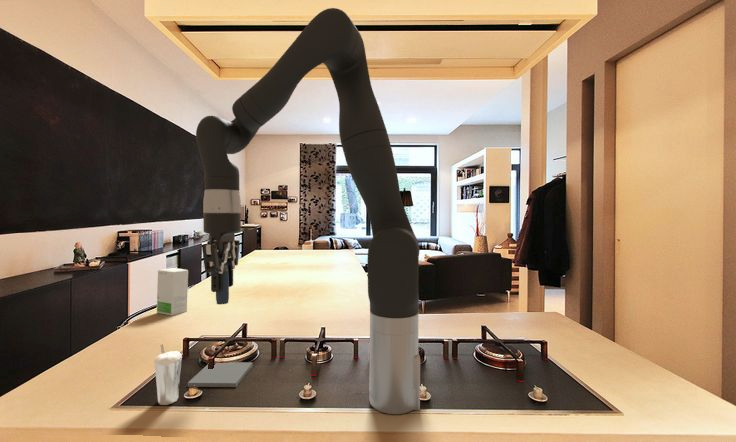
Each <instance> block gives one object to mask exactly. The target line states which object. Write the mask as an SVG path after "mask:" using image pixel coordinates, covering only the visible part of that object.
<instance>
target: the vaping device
mask: <svg viewBox="0 0 736 442" xmlns="http://www.w3.org/2000/svg"><path fill="white" fill-rule="evenodd" d="M218 259H221V258H218ZM227 262H228V257H227ZM227 262H226V263H225V264H224V268H223V273H222V274H223V290H222V291H221V292H215V301H216V305H226V304H229V300H230V287H229V274H228V263H227ZM219 264H220V263H219Z"/></svg>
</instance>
